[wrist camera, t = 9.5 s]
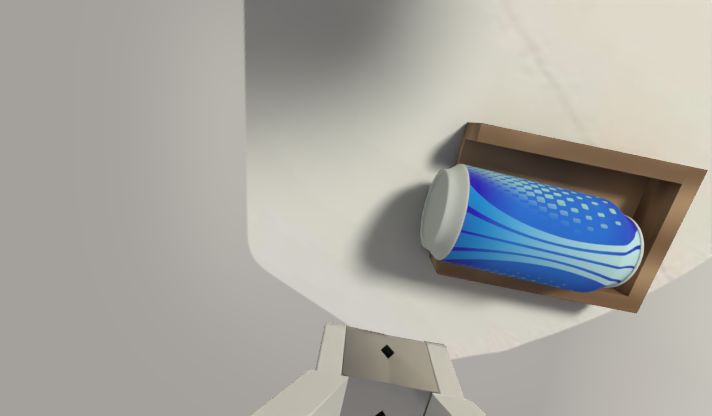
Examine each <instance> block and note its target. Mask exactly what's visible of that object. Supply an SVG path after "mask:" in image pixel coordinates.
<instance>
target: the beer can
mask: <svg viewBox="0 0 712 416" xmlns="http://www.w3.org/2000/svg"><path fill="white" fill-rule="evenodd" d="M420 239H421V244H422V246H423V247H424V248H426V249H427V250H429V251H430V253H431V254H432V255H433V257H434V258H435V259H437V260H440V261H445V262H449V263H453V264H458V265H462V266H466V267H470V268H475V269H479V270H483V271H488V272H492V273H496V274H501V275H505V276H509V277H514V278H518V279H522V280H526V281H531V282H535V283H539V284H544V285H548V286H552V287H557V288H561V289H565V290H570V291H574V292H582V293H584V292H592V291H595V290H598V289H600V288H603V287H605V288H610V287H616V286H619V285H621V284H623V283H625V282H626V281H627V280H629V279H630V278H631V277H632V276H633V275H634V273H635V272H636V270H637V269H638V267H639V265H640V263H641V260H642V257H643V252H644V239H643V235H642V232H641V229H640V228H639V226H638V224H637V223H636V222H635V221H634V220H633V219H632V218H630V217H628V216H626V215H624V214H623V213H622V212H621V210H620V209H619V208H618V207H617V206H616V205H615V204H613V203H612V202H610V201H608V200H606V199H604V198H600V197H596V196H592V195H588V194H584V193H580V192H576V191H572V190H567V189H563V188H559V187H555V186H551V185H547V184H543V183H538V182H534V181H530V180H526V179H522V178H518V177H514V176H510V175H505V174H501V173H497V172H493V171H489V170H485V169H481V168H476V167H472V166H468V165H464V164H458V165H456V166H454V167H452V168H449V169H442V170H441V171H439V172H438V174H437V175H436V176H435V178H434V180H433V182H432V184H431V186H430V189H429V191H428V194H427V197H426V200H425V204H424V208H423V213H422V218H421V226H420Z"/></svg>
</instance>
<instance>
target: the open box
mask: <svg viewBox="0 0 712 416" xmlns="http://www.w3.org/2000/svg"><path fill="white" fill-rule="evenodd" d="M458 164H464V165H468V166H472V167H476V168H481V169H485V170H489V171H493V172H497V173H501V174H505V175H510V176H514V177H518V178H522V179H526V180H530V181H534V182H538V183H543V184H547V185H551V186H555V187H559V188H563V189H567V190H572V191H576V192H580V193H584V194H588V195H592V196H596V197H600V198H604V199H606V200H608V201H610V202H612V203H613V204H615V205H616V206H617V207H618V208H619V209H620V210H621V212H622V213H623V214H624V215H626V216H628V217H630V218H632V219H633V220H634V221H635V222H636V223H637V224H638V226H639V228H640V229H641V232H642V235H643V239H644V252H643V257H642V260H641V263H640V265H639V267H638V269H637V270H636V272H635V273H634V275H633V276H632V277H631V278H630V279H629V280H627V281H626V282H625V283H623V284H621V285H619V286H616V287H610V288H605V287H603V288H600V289H598V290H595V291H592V292H584V293H582V292H574V291H570V290H565V289H561V288H557V287H552V286H548V285H544V284H539V283H535V282H531V281H526V280H522V279H518V278H514V277H509V276H505V275H501V274H496V273H492V272H488V271H483V270H479V269H475V268H470V267H466V266H462V265H458V264H453V263H449V262H445V261H440V260H437V259H435V258H434V257H433V255H432V254H431V253H430V259H431V261H432V263H433V265H434V268H435V270H436V272H437V274H440V275H445V276H450V277H455V278H460V279H465V280H470V281H475V282H480V283H485V284H490V285H496V286H501V287H506V288H511V289H516V290H521V291H526V292H531V293H536V294H541V295H546V296H551V297H556V298H561V299H566V300H572V301H577V302H582V303H587V304H592V305H597V306H602V307H607V308H612V309H617V310H622V311H628V312H632V313H637V312H638V310H639V308H640V306H641V304H642V302H643V300H644V298H645V296H646V294H647V292H648V290H649V288H650V286H651V284H652V282H653V280H654V278H655V276H656V274H657V272H658V270H659V267H660V265H661V263H662V261H663V259H664V257H665V255H666V253H667V251H668V249H669V247H670V245H671V243H672V241H673V239H674V237H675V235H676V233H677V231H678V229H679V227H680V225H681V223H682V221H683V219H684V217H685V215H686V213H687V211H688V209H689V207H690V205H691V203H692V201H693V199H694V197H695V195H696V193H697V191H698V189H699V187H700V185H701V183H702V181H703V179H704V177H705V175H706V173H707V171H708V170H704V169H699V168H694V167H689V166H685V165H680V164H675V163H670V162H665V161H661V160H656V159H651V158H646V157H641V156H637V155H632V154H627V153H622V152H617V151H613V150H608V149H603V148H598V147H593V146H589V145H584V144H579V143H574V142H569V141H565V140H560V139H555V138H550V137H546V136H541V135H536V134H531V133H526V132H522V131H517V130H512V129H507V128H502V127H498V126H493V125H488V124H483V123H468V122H467V126H466V130H465V133H464V137H463V140H462V144H461V147H460V151H459V154H458V158H457V161H456V165H458ZM456 165H455V166H456Z"/></svg>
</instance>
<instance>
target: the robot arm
mask: <svg viewBox="0 0 712 416" xmlns="http://www.w3.org/2000/svg"><path fill="white" fill-rule="evenodd" d="M251 416H486V415H485V414H484V413H483V412H482V411H481V410H480V409H479V408H478V407H477V406H476V405H475V404H474V403H473V402H472V401H471V400H468V399H464V396H463V393H462V390H461V387H460V385H459V382H458V379H457V376H456V373H455V370H454V367H453V364H452V361H451V358H450V356H449V353H448V350H447V347H446V346H445V345H444V344H439V343H432V342H426V341H424V342H422V341H417V340H411V339H406V338H401V337H395V336H390V335H385V334H382V333H377V332H372V331H368V330H363V329H359V328H354V327H349V326H346V327H345V325H339V324H334V323H329V322H326V324H325V326H324V331H323V336H322V341H321V345H320V350H319V355H318V361H317V365H316V370H310V369H309V370H308V371H306V372H305V373H304V374H302V375H301V376H300V377H299V378H297V379H296V380H295V381H294V382H292V383H291V384H290V385H289V386H287V387H286V388H285V389H283V390H282V391H281V392H280V393H278V394H277V395H276V396H275V397H273V398H272V399H271V400H270V401H268V402H267V403H266V404H265V405H263V406H262V407H261V408H259V409H258V410H257V411H256V412H255V413H253V414H252V415H251Z"/></svg>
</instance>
